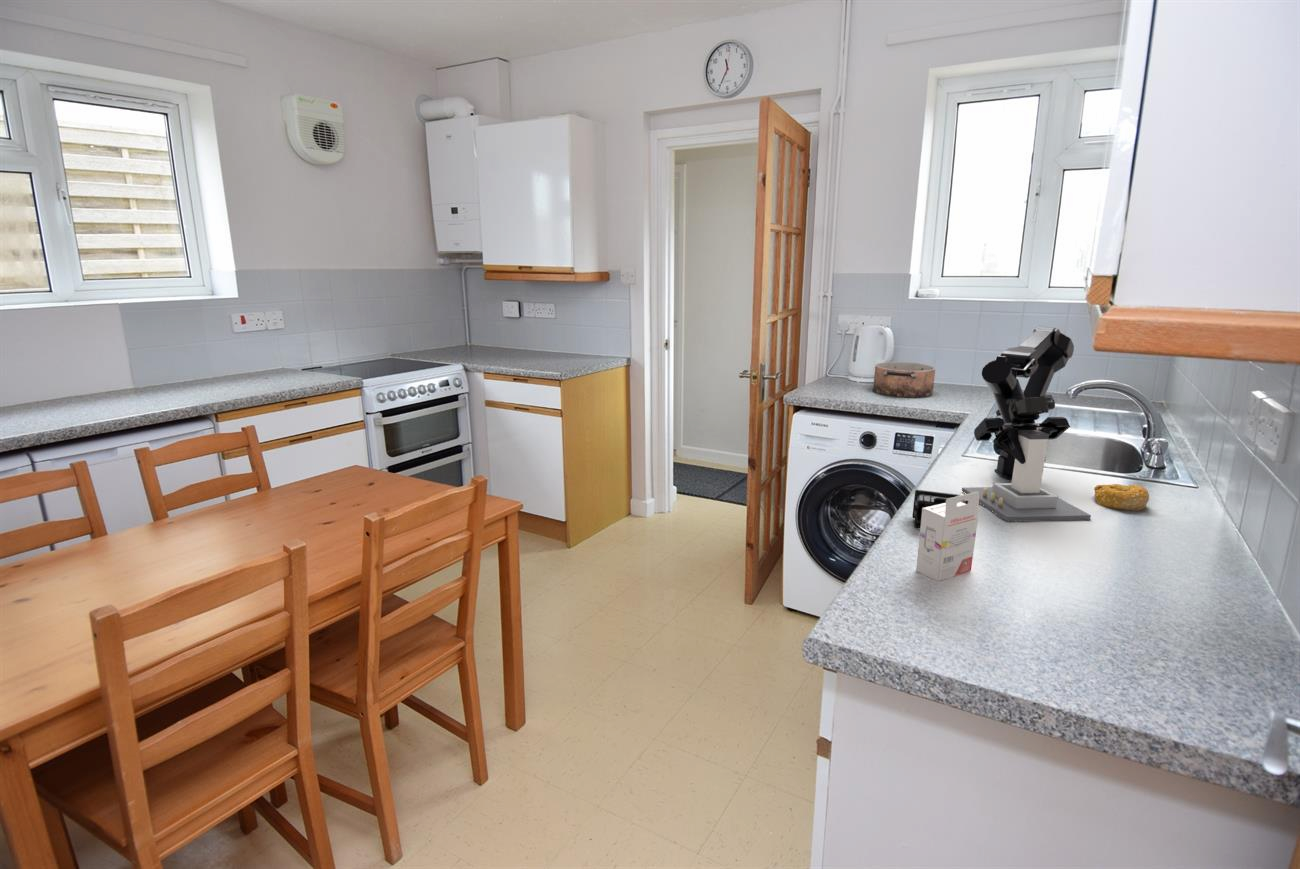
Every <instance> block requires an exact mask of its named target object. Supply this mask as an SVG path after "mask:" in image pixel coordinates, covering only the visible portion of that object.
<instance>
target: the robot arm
mask: <svg viewBox="0 0 1300 869" xmlns="http://www.w3.org/2000/svg"><path fill="white" fill-rule="evenodd" d="M1074 349H1075V345H1074V343H1073V340H1072V339H1071V338H1070V337H1069V336H1068V335H1066V334H1064V333H1062V332H1061V331H1060V329H1059V328H1056V327H1051V326H1050V327H1049V326H1048V327H1046V326H1039V327H1035V328H1034V330H1033V331H1032V334H1031V335H1029V336H1028V337H1027V338H1026V339H1025V340H1024V341H1023V342H1022V343H1021V344H1020V345H1019V346H1014V347H1008V348H1007V349H1005V350H1003V351H1002V352H1001V353H1000V354H998V355H997V356H996V358H995V359H994V360H992V361H989V362H988V363H987V364H986V365H984V367H982V370H981V376H982V379H983V381H984V382H985V384H986V385H987V387H988V389H989V390H990V392H992V395H993V397H994V399H995V402H996V405H997V406H996V407H997V408H998V409H997V410H996V411H995V414H996V416H997V417H984V418H983V420H982V421H981V422H980V423H979V424H978V425H977V426H976V427H975V428H974V431H973V435H974V438H975V440H976V441H977V442H979V441H981V442H983V441H990V439H991V438H992V437H993V435H992V434H994V437H995V438H994V439H993V440H992V442H993V444H995V450H996V451H1000V454H999V456H998V459H997V465H996V468H994V472H995V473H997V474H998V475H1000V476H1002V477H1004V478H1006V479H1007V480H1012V476H1013V469H1014V463H1015V459H1017V460H1018V461H1019V462H1020V463H1021V464H1024V463H1025V462H1026V461H1025V456H1024V453H1023V451H1022V448H1021V445H1020V442H1019V440H1018V436H1019V430H1039V431H1041V432H1044V433H1046V434H1049V438H1048V441H1049V440H1056V439H1058V438H1059V437H1060V436H1061V435H1062V434H1063V433H1065V432H1066V431H1067V430H1068V429H1069V428H1071V425H1070V423H1069V420H1068V419H1067V418H1066V417H1064V416H1047V417H1046V418H1045V419H1044V420H1043V421H1041V423H1039V422H1036V421H1037V420H1039V418H1040V417H1041V416H1040V415H1041V414H1044V413H1045V414H1047V413H1050V412H1049V411H1050V410H1053V409H1055V408H1056V403H1055V402H1056V401H1055V399H1054V397H1053V395H1052V394H1046V393H1048V389H1049V387H1050V385H1051V381H1052V380H1053V377H1054V375H1055V374H1056V373H1058V371H1061V370H1062V369H1063V368H1065V367H1066V365H1067V363H1068V361H1069V359H1071V358H1072V357H1073V354H1074V352H1075V350H1074ZM1018 378H1024V379H1028V381H1027V384H1026V385H1025V388H1024V390H1023V389H1022V387H1021V384H1020V381H1019V379H1018ZM1046 456H1047V455H1046ZM1046 456H1045V460H1046Z"/></svg>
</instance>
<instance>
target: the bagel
mask: <svg viewBox="0 0 1300 869" xmlns="http://www.w3.org/2000/svg"><path fill="white" fill-rule="evenodd" d="M1093 490H1094V497H1095V501H1096V502H1097V504H1099V505H1101V506H1103V507H1106V508H1110V509H1114V510H1123V511H1131V512H1133V511H1135V512H1136V511H1137V512H1139V511H1142V510H1143V509H1145V508H1146V506H1147V504H1148V502H1149V501H1150V498H1149V497H1150V493H1149V492H1148V490H1147V489H1146V488H1144V487H1143V486H1141V485H1137V484H1129V485H1123V484H1118V483H1114V484H1098V485H1096V486H1095V487H1094V488H1093Z"/></svg>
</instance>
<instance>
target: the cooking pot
mask: <svg viewBox="0 0 1300 869" xmlns="http://www.w3.org/2000/svg"><path fill="white" fill-rule="evenodd" d="M935 374H936V367H935V366H932V365H929V364H926V363H925V364H924V363H918V362H905V361H885V362H884V361H883V362H878V363H876V364H875V367H874V375H873V376H874V377H873V387H872V390H873V392H874V393H876V394H878V395H880V396H886V397H891V398H892V397H893V398H898V399H899V398H900V399H923V398H929V397H931V396H932V395H933V392H934V385H935Z"/></svg>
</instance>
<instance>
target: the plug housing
mask: <svg viewBox="0 0 1300 869" xmlns="http://www.w3.org/2000/svg"><path fill="white" fill-rule="evenodd" d="M1048 438H1049V434H1046V433H1044V432H1041V431H1039V430H1019V436H1018V440H1019V442H1020V445H1021V448H1022V451H1023V453H1024V456H1025V461H1026V462H1025V463H1024V464H1021V463H1020V462H1019V461H1018V460H1017V459H1015V463H1014V469H1013V476H1012V479H1011V482H1010V483H1011V487H1012V488H1014V489H1015V490H1017V491H1019V492H1021V493H1040V487H1041V485H1042V479H1043V473H1044V467H1045V462H1046V459H1045V456H1047V455H1046V454H1047V451H1048V450H1047V449H1048V444H1049V440H1048Z"/></svg>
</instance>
